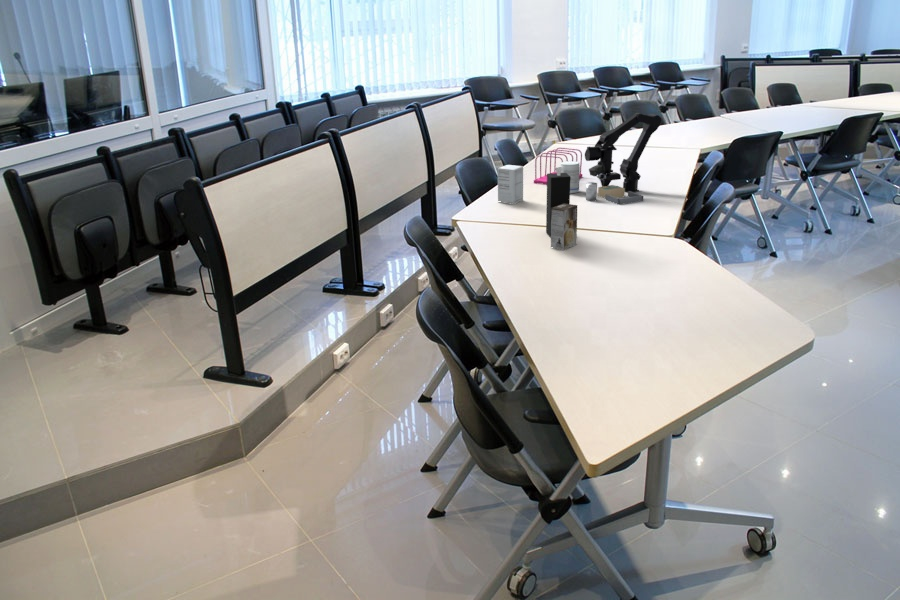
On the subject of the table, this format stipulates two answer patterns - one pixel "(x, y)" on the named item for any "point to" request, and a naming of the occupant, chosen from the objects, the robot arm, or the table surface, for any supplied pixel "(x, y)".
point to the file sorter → (544, 178)
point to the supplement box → (510, 184)
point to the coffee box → (564, 226)
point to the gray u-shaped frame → (632, 198)
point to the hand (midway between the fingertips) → (604, 190)
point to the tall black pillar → (556, 193)
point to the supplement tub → (572, 174)
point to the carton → (611, 191)
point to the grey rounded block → (591, 191)
